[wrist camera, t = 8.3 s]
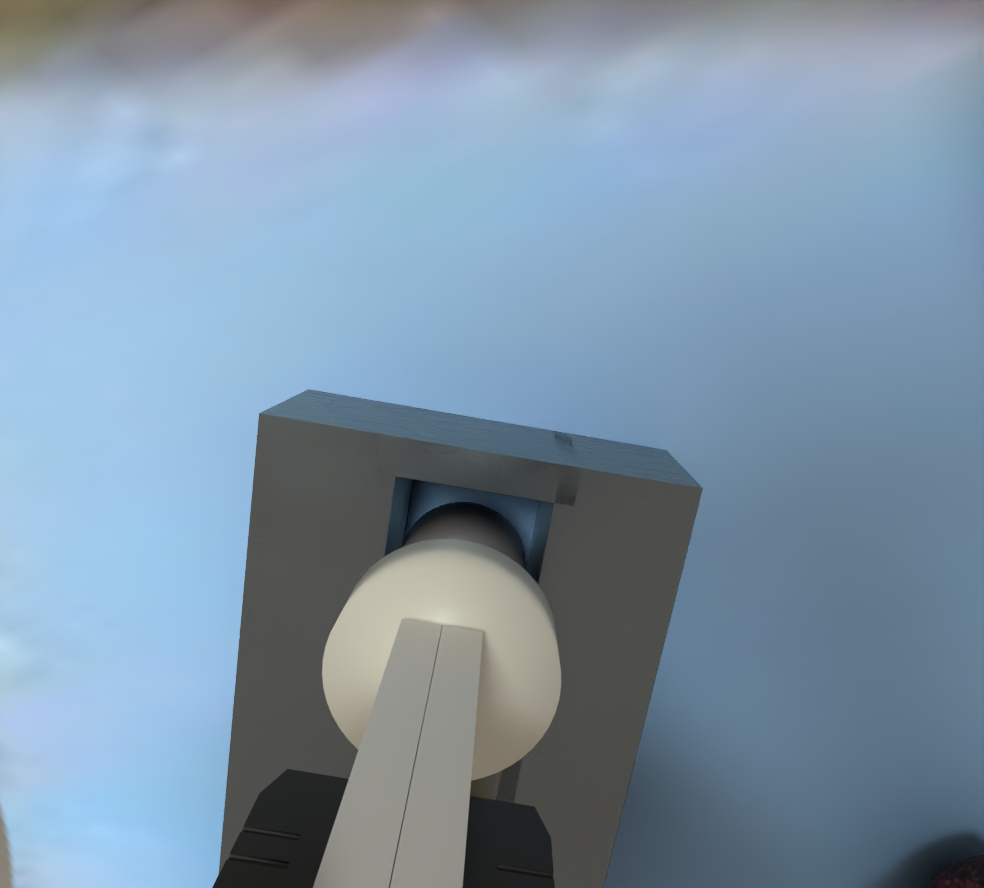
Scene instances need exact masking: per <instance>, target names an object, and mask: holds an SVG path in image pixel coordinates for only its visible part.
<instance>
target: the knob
mask: <svg viewBox="0 0 984 888" xmlns="http://www.w3.org/2000/svg"><path fill="white" fill-rule="evenodd" d="M402 619H407V620H413V621H419V622H425V623H431V624H437V625H442V627H443V625H444V626H450V627H456V628H462V629H468V630H474V631H480V632H483V638H482V650H481V663H480V675H479V688H478V700H477V713H476V725H475V738H474V750H473V763H472V775H471V781H472V780H476V779H480V778H484V777H487V776H490V775H492V774H495V773H498V772H500V771H502V770H504V769H505V768H507V767H509V766H511V765H513V764H514V763H515V762H517V761H518V760H520V759H521V758H523V757H524V756H525V755H526V754H527V753H528V752H529V751H530V750H532V749H533V748H534V746H535V745H536V744H537V743H538V742H539V741H540V739H541V738H542V737H543V735H544V734H545V732H546V731H547V729H548V727H549V726H550V724H551V722H552V719H553V717H554V715H555V712H556V709H557V706H558V702H559V698H560V690H561V668H560V660H559V651H558V643H557V635H556V628H555V622H554V617H553V614H552V611H551V608H550V605H549V603H548V601H547V599H546V597H545V595H544V593H543V591H542V590H541V588H540V587H539V585H538V584H537V582H536V581H535V580H534V579H533V578H532V577H531V575H530V574H529V573H528V572H527V571H526V570H525V554H524V548H523V545H522V542H521V539H520V537H519V535H518V533H517V532H516V530H515V529H514V527H513V526H512V525H511V524H510V522H509V521H508V520H506V519H505V518H504V517H503V516H502V515H500V514H499V513H498V512H496V511H494V510H492V509H490V508H488V507H486V506H483V505H480V504H475V503H469V502H455V503H449V504H445V505H441V506H439V507H437V508H434V509H432V510H431V511H429V512H427V513H426V514H425V515H423V516H422V517H421V518H420V519H419V520H418V521H417V522H416V523H415V524H414V525H413V527H412V528H411V530H410V531H409V533H408V535H407V537H406V539H405V542H404V544H403V546H402V548H400V549H397V550H395V551H393V552H391V553H390V554H388V555H386V556H385V557H383V558H382V559H380V560H379V561H378V562H377V563H375V564H374V565H373V566H372V567H371V568H370V569H369V570H368V571H367V572H366V573H365V574H364V575H363V576H362V577H361V579H360V580H359V582H358V583H357V584H356V586H355V587H354V589H353V591H352V593H351V595H350V597H349V599H348V601H347V602H346V604H345V606H344V608H343V610H342V612H341V614H340V615H339V617H338V619H337V621H336V623H335V625H334V627H333V629H332V630H331V632H330V635H329V638H328V641H327V643H326V646H325V651H324V656H323V665H322V679H323V688H324V692H325V697H326V701H327V704H328V706H329V709H330V711H331V714H332V716H333V718H334V719H335V721H336V723H337V725H338V727H339V728H340V729H341V731H342V732H343V733H344V735H345V736H346V737H347V739H348V740H349V741H350V742H351V743H352V744H353V745H354V746H355V747H356V748H357V749H358V750H359V747H360V744H361V741H362V738H363V735H364V732H365V729H366V726H367V723H368V720H369V716H370V713H371V710H372V707H373V704H374V701H375V698H376V695H377V692H378V689H379V686H380V683H381V680H382V677H383V674H384V671H385V668H386V665H387V662H388V659H389V656H390V653H391V650H392V647H393V644H394V641H395V638H396V635H397V632H398V629H399V626H400V623H401V620H402ZM441 632H442V629H441ZM440 637H441V635H440ZM439 642H440V641H439Z"/></svg>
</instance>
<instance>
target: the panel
mask: <svg viewBox="0 0 984 888" xmlns="http://www.w3.org/2000/svg"><path fill="white" fill-rule="evenodd" d="M412 479H415V480H421V481H427V482H433V483H439V484H445V485H451V486H457V487H463V488H469V489H475V490H481V491H486V492H492V493H498V494H504V495H510V496H516V497H522V498H528V499H534V500H539V506H538V511H537V516H536V521H535V527H534V532H533V537H532V542H531V547H530V553H529V558H528V563H527V568H526V571H527V572H528V573H529V574H530V575H531V577H532V578H533V579H534V580H535V581H536V582H537V584H538V585H539V587H540V588H541V590H542V591H543V593H544V595H545V597H546V599H547V601H548V603H549V605H550V608H551V611H552V614H553V617H554V622H555V628H556V635H557V643H558V651H559V660H560V668H561V690H560V698H559V702H558V706H557V709H556V712H555V715H554V717H553V719H552V722H551V724H550V726H549V727H548V729H547V731H546V732H545V734H544V735H543V737H542V738H541V739H540V741H539V742H538V743H537V744H536V745H535V746H534V748H533V749H532V750H530V751H529V752H528V753H527V754H526V755H525V756H524V757H523V758H521V759H520V760H518V761H517V762H515V763H514V764H513V765H511V766H509V767H507V768H505V769H504V770H502V771H500V772H498V773H495V774H492V775H490V776H487V777H484V778H480V779H476V780H472V781H471V788H470V796H474V797H480V798H486V799H492V800H499V801H505V802H511V803H517V804H523V805H529V806H535V808H536V810H537V812H538V814H539V816H540V818H541V820H542V821H543V823H544V825H545V827H546V829H547V831H548V833H549V835H550V837H551V844H552V857H553V870H554V873H553V879H554V884H555V888H603V887H604V883H605V879H606V874H607V870H608V866H609V862H610V858H611V854H612V850H613V846H614V842H615V838H616V834H617V830H618V826H619V822H620V818H621V814H622V810H623V806H624V802H625V798H626V794H627V790H628V786H629V782H630V778H631V774H632V770H633V766H634V762H635V758H636V754H637V750H638V746H639V742H640V738H641V734H642V730H643V726H644V722H645V718H646V714H647V710H648V706H649V702H650V698H651V694H652V690H653V686H654V682H655V678H656V674H657V670H658V666H659V662H660V658H661V654H662V650H663V645H664V641H665V637H666V633H667V629H668V625H669V621H670V617H671V613H672V609H673V605H674V601H675V597H676V593H677V589H678V585H679V581H680V577H681V573H682V569H683V565H684V561H685V557H686V553H687V549H688V545H689V541H690V537H691V533H692V529H693V525H694V521H695V517H696V513H697V509H698V505H699V501H700V497H701V493H702V489H703V488H702V487H701V486H700V485H699V484H698V483H697V482H696V481H695V480H694V479H693V478H692V477H691V476H690V475H689V474H688V472H687V471H686V470H685V469H684V468H683V467H682V466H681V465H680V464H679V463H678V462H677V461H676V460H675V459H674V458H673V457H672V456H671V455H670V454H669V452H668V451H667V450H662V449H656V448H650V447H644V446H638V445H632V444H626V443H620V442H614V441H609V440H603V439H597V438H591V437H585V436H579V435H573V434H567V433H561V432H556V431H550V430H544V429H538V428H532V427H526V426H520V425H514V424H508V423H502V422H497V421H491V420H485V419H479V418H473V417H467V416H461V415H455V414H449V413H443V412H438V411H432V410H426V409H420V408H414V407H408V406H402V405H396V404H390V403H385V402H379V401H373V400H367V399H361V398H355V397H349V396H343V395H337V394H331V393H326V392H320V391H314V390H307V391H304V392H302V393H300V394H298V395H296V396H294V397H292V398H290V399H288V400H286V401H284V402H282V403H280V404H278V405H276V406H273V407H271V408H269V409H267V410H265V411H263V412H261V413H259V423H258V435H257V446H256V457H255V469H254V480H253V491H252V503H251V514H250V526H249V537H248V548H247V560H246V571H245V582H244V594H243V605H242V617H241V628H240V639H239V651H238V662H237V674H236V685H235V696H234V708H233V719H232V730H231V742H230V753H229V765H228V776H227V787H226V799H225V810H224V821H223V833H222V844H221V856H220V867H219V874H220V872H221V870H222V868H223V866H224V864H225V862H226V860H228V858H229V855H230V852H231V850H232V848H233V846H234V844H235V842H236V840H237V838H238V836H239V834H240V832H242V830H243V826H244V824H245V822H246V820H247V818H248V816H249V814H250V812H251V810H252V808H253V806H254V804H255V802H256V799H257V797H258V795H259V793H260V792H262V791H263V790H264V789H265V788H266V787H267V786H268V785H270V784H271V783H272V782H273V781H274V780H275V779H276V778H278V777H279V776H280V775H281V774H282V773H283V772H284V771H286V770H287V769H292V770H298V771H304V772H310V773H316V774H323V775H329V776H335V777H341V778H347V779H349V777H350V774H351V771H352V768H353V765H354V762H355V759H356V756H357V753H358V749H357V748H356V747H355V746H354V745H353V744H352V743H351V742H350V741H349V740H348V739H347V737H346V736H345V735H344V733H343V732H342V731H341V729H340V728H339V727H338V725H337V723H336V721H335V719H334V718H333V716H332V714H331V711H330V709H329V706H328V704H327V701H326V697H325V692H324V688H323V679H322V665H323V656H324V651H325V646H326V643H327V641H328V638H329V635H330V632H331V630H332V629H333V627H334V625H335V623H336V621H337V619H338V617H339V615H340V614H341V612H342V610H343V608H344V606H345V604H346V602H347V601H348V599H349V597H350V595H351V593H352V591H353V589H354V587H355V586H356V584H357V583H358V582H359V580H360V579H361V577H362V576H363V575H364V574H365V573H366V572H367V571H368V570H369V569H370V568H371V567H372V566H373V565H374V564H375V563H377V562H378V561H379V560H380V559H382V558H383V557H385V556H386V555H388V554H390V553H391V552H393V551H395V550H397V549H400V548H402V546H403V541H404V534H405V527H406V520H407V513H408V506H409V499H410V492H411V486H412Z"/></svg>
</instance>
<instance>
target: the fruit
mask: <svg viewBox="0 0 984 888" xmlns="http://www.w3.org/2000/svg"><path fill="white" fill-rule="evenodd" d="M926 888H984V855H982V856H978V857H974V858H971V859H968V860H965V861H962V862H956V863H952V864H949V866H948V867H947V868H945V869H944V870H943V871H941V872H940V873H939V874H938V875H937V877H936V878H935V879H934V880H933V881H931V882H930V883H929V884H928V885H927V887H926Z"/></svg>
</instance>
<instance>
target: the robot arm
mask: <svg viewBox="0 0 984 888" xmlns="http://www.w3.org/2000/svg"><path fill="white" fill-rule="evenodd" d="M441 629H442V632H441ZM440 635H441V637H440ZM482 638H483V632H480V631H474V630H468V629H462V628H456V627H450V626H444V625H443V627H442V625H437V624H431V623H425V622H419V621H413V620H407V619H402V620H401V623H400V626H399V629H398V632H397V635H396V638H395V641H394V644H393V647H392V650H391V653H390V656H389V659H388V662H387V665H386V668H385V671H384V674H383V677H382V680H381V683H380V686H379V689H378V692H377V695H376V698H375V701H374V704H373V707H372V710H371V713H370V716H369V720H368V723H367V726H366V729H365V732H364V735H363V738H362V741H361V744H360V747H359V750H358V753H357V756H356V759H355V762H354V765H353V768H352V771H351V774H350V777H349V779H347V778H341V777H335V776H329V775H323V774H316V773H310V772H304V771H298V770H292V769H287V770H286V771H284V772H283V773H282V774H281V775H280V776H279V777H278V778H276V779H275V780H274V781H273V782H272V783H271V784H270V785H268V786H267V787H266V788H265V789H264V790H263V791H262V792H260V793H259V795H258V797H257V799H256V802H255V804H254V806H253V808H252V810H251V812H250V814H249V816H248V818H247V820H246V822H245V824H244V826H243V830H242V832H240V834H239V836H238V838H237V840H236V842H235V844H234V846H233V848H232V850H231V852H230V855H229V858H228V860H226V862H225V864H224V866H223V868H222V870H221V872H220V874H219V876H218V878H217V880H216V882H215V884H214V886H213V888H555V884H554V879H553V873H554V870H553V857H552V844H551V837H550V835H549V833H548V831H547V829H546V827H545V825H544V823H543V821H542V820H541V818H540V816H539V814H538V812H537V810H536V808H535V806H529V805H523V804H517V803H511V802H505V801H499V800H492V799H486V798H480V797H474V796H470V788H471V775H472V763H473V750H474V738H475V725H476V713H477V700H478V688H479V675H480V663H481V650H482ZM439 641H440V642H439Z"/></svg>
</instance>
